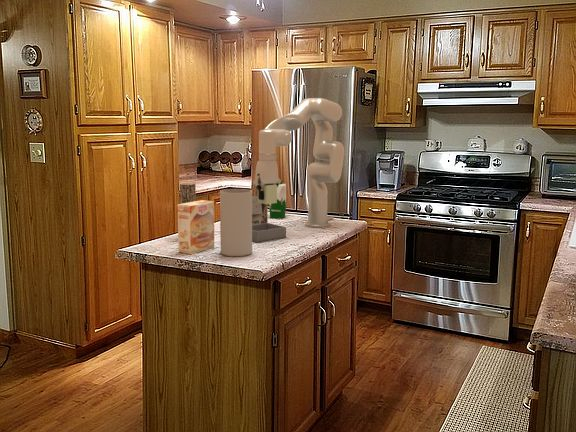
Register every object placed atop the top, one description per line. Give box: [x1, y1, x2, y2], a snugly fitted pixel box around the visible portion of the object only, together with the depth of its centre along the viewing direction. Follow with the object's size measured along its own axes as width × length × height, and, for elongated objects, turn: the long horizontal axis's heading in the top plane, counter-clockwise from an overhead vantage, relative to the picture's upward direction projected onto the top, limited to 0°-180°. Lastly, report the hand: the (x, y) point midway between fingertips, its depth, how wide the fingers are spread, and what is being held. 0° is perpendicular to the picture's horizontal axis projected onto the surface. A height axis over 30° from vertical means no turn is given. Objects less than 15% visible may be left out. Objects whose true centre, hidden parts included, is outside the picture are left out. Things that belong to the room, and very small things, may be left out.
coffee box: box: [252, 193, 269, 225], centre depth 278 cm, size 9×6×16 cm
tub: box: [252, 222, 287, 244], centre depth 255 cm, size 16×13×5 cm
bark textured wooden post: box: [179, 181, 197, 204], centre depth 252 cm, size 7×7×25 cm
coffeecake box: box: [176, 199, 215, 255], centre depth 231 cm, size 15×7×20 cm, turn 148°
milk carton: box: [268, 179, 287, 220], centre depth 306 cm, size 9×9×20 cm
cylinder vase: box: [219, 188, 253, 258], centre depth 225 cm, size 12×12×25 cm
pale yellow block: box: [258, 184, 277, 205], centre depth 252 cm, size 6×6×8 cm
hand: (267, 198), depth 252 cm, fingers closed on pale yellow block, 6 cm apart
